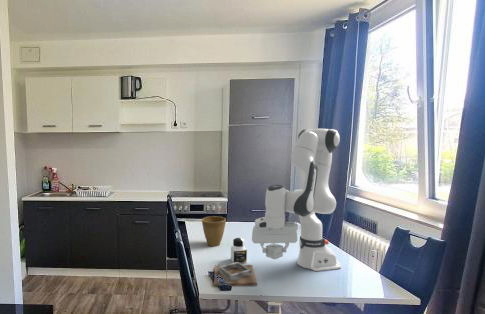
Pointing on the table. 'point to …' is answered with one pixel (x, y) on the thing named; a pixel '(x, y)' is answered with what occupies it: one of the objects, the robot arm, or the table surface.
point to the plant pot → (213, 229)
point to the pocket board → (237, 282)
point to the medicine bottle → (238, 251)
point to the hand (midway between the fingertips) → (274, 252)
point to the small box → (274, 251)
